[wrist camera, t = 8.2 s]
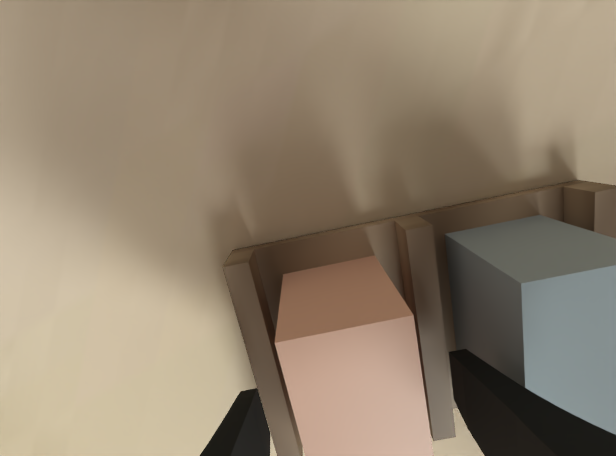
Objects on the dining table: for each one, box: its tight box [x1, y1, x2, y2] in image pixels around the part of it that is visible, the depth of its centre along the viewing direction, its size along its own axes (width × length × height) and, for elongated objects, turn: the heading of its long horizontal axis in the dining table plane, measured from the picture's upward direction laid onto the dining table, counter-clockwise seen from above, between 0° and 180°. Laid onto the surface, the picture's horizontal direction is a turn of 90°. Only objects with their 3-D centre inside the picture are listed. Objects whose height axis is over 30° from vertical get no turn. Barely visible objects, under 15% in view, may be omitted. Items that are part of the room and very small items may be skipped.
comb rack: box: [223, 180, 616, 456], centre depth 15 cm, size 15×10×2 cm, turn 102°
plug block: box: [275, 255, 434, 456], centre depth 13 cm, size 4×8×5 cm, turn 12°
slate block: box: [445, 215, 616, 435], centre depth 13 cm, size 4×8×5 cm, turn 12°
